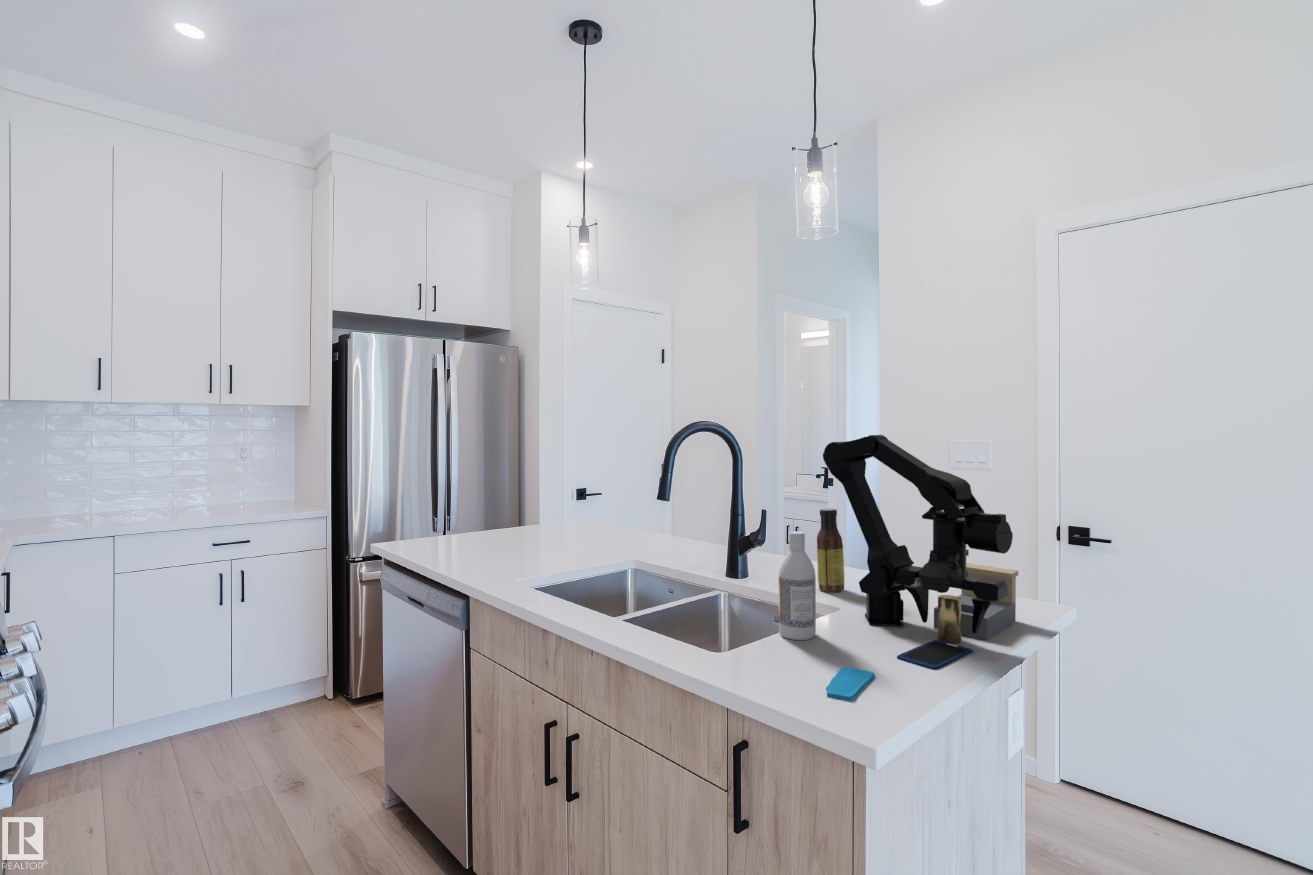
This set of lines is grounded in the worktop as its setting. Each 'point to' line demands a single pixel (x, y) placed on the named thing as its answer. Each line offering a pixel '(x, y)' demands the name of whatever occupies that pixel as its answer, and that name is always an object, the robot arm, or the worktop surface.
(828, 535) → the sauce bottle
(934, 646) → the cell phone
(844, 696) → the sponge
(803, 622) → the bath foam
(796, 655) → the worktop surface
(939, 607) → the peg
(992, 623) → the socket block
